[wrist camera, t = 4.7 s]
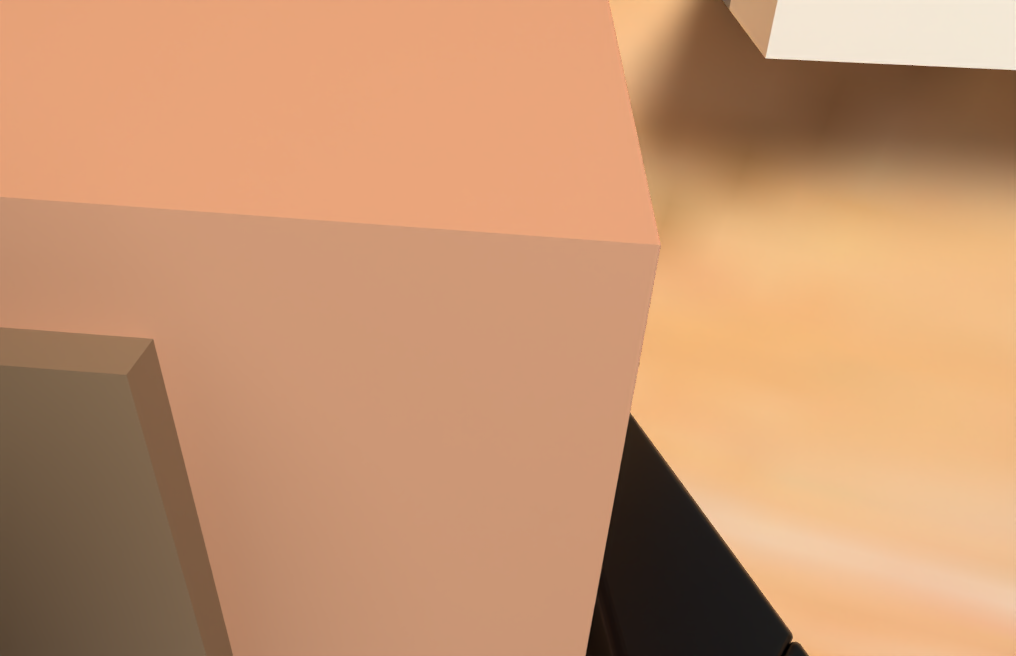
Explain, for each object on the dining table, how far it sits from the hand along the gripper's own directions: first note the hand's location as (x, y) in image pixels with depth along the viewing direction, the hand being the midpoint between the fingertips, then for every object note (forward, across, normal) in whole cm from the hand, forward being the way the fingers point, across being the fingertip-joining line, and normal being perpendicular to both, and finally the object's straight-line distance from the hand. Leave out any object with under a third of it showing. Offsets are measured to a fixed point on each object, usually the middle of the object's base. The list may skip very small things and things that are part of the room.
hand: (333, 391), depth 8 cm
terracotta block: (+1, 0, 0) cm, 1 cm away
